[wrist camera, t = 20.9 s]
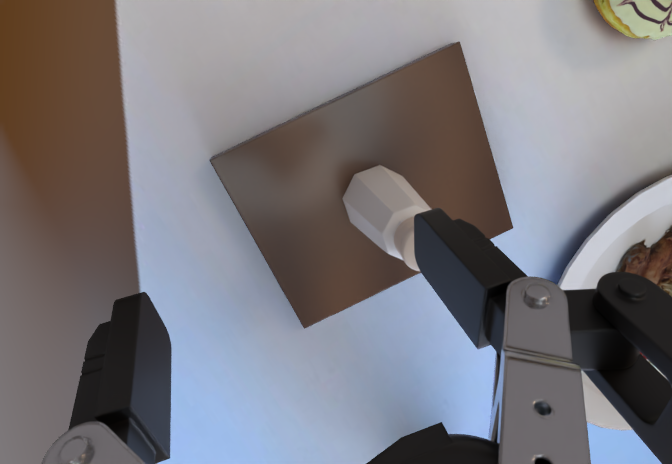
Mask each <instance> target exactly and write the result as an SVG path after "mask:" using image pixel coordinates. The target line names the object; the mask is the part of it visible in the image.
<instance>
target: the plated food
mask: <svg viewBox="0 0 672 464" xmlns="http://www.w3.org/2000/svg"><path fill="white" fill-rule="evenodd" d="M611 272H629V273H633V274H637V275H640V276H642V277H645V278H647V279H649V280H650V281H652V282H653V283H655V284H656V285H657V286H659V287H660V288H661V289H663V290H664V291H665V292H666V293H668V294H669V295H670V296H671V297H672V175H670V176H667V177H665V178H663V179H661V180H659V181H657V182H656V183H654V184H652V185H650V186H648V187H647V188H645V189H643V190H641V191H639V192H638V193H636V194H635V195H634V196H632V197H631V198H630V199H628V200H627V201H626V202H625V203H623V204H622V205H621V206H619V207H618V208H617V209H616V210H614V211H613V212H612V213H611V214H609V215H608V216H607V217H606V218H605V220H604V221H603V222H602V223H601V224H600V225H599V226H598V227H597V228H596V229H595V230H594V231H593V232H592V233H591V234H590V235H589V236H588V237H587V238H586V240H585V241H584V242H583V244H582V245H581V247H580V248H579V250H578V251H577V252H576V254H575V255H574V257H573V258H572V259H571V261H570V262H569V264H568V265H567V267H566V269H565V271H564V273H563V275H562V277H561V279H560V281H559V283H558V285H557V286H559V287H560V288H561V289H562V290H578V289H596V287H597V284H598V281H599V279H600V278H601V277H602V276H603V275H605V274H608V273H611ZM640 354H641V355H642V356H643V357H644V358H645V359H646V360H647V361H648V362H649V363H650V364H651V365H653V364H652V363H651V362H650V361H649V360H648V359H647V358H646V357H645V356H644V355H643V354H642V353H641V352H640ZM653 366H654V365H653ZM654 367H655V366H654ZM655 368H656V367H655ZM656 369H657V368H656ZM657 370H658V369H657ZM658 371H659V370H658ZM659 372H660V371H659ZM581 373H582V382H583V391H584V401H585V411H586V421H587V422H588V423H591V424H593V425H596V426H599V427H601V428H608V429H615V430H633V429H632V428H631V427H630V425H629V424H628V423H627V422H626V421H625V420H624V418H623V417H622V416H621V415H620V414H619V413H618V411H617V410H616V409H615V408H614V407H613V406H612V404H611V403H610V402H609V401H608V400H607V399H606V397H605V396H604V395H603V394H602V393H601V392H600V390H599V389H598V388H597V387H596V386H595V385H594V383H593V382H592V381H591V380H590V379H589V377H588V376H587V375H586V374H585V373H584V372H583V371H581ZM660 373H661V372H660ZM661 374H662V373H661ZM662 375H663V374H662ZM663 376H664V375H663ZM664 377H665V376H664ZM665 378H666V377H665ZM666 379H667V378H666Z"/></svg>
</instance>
